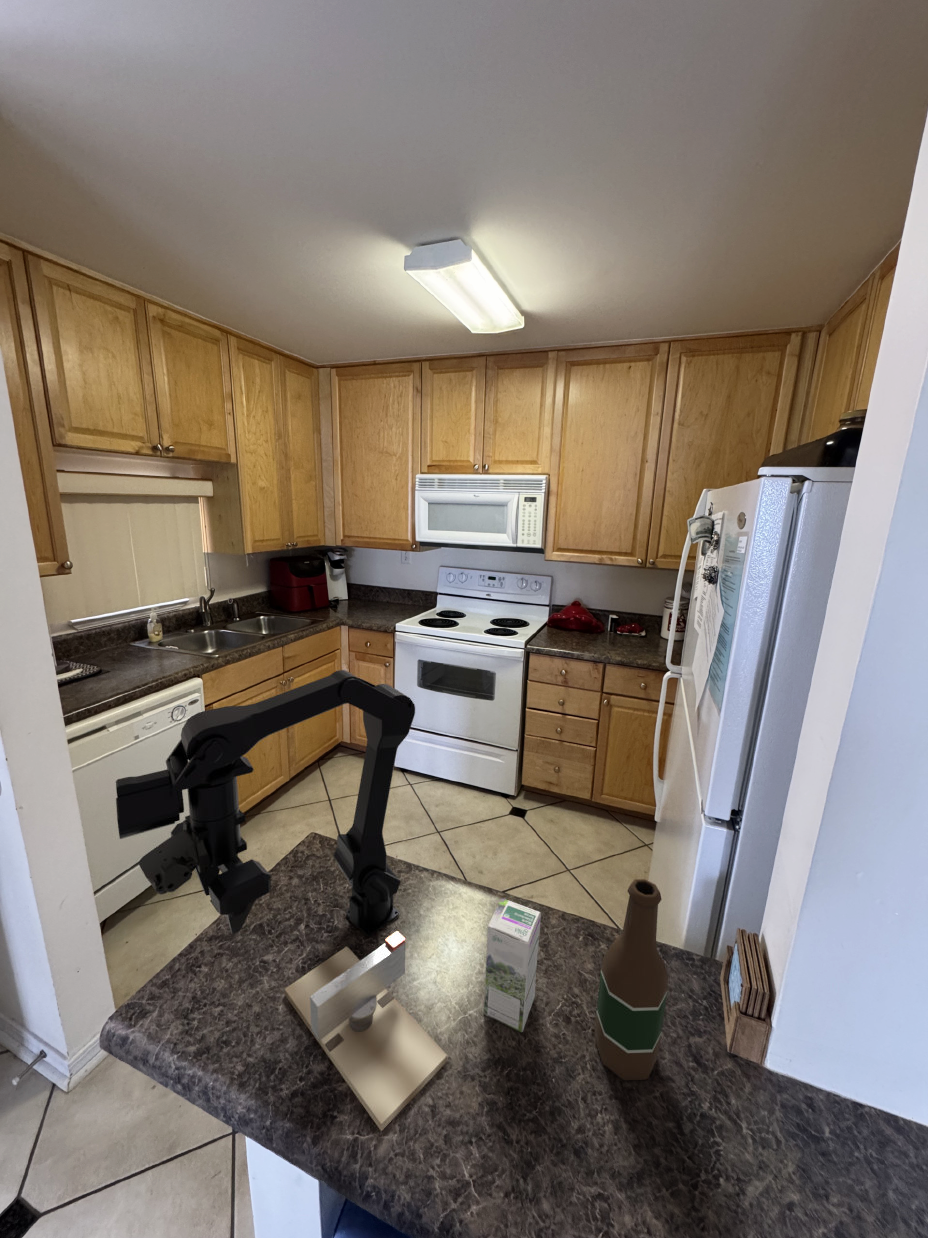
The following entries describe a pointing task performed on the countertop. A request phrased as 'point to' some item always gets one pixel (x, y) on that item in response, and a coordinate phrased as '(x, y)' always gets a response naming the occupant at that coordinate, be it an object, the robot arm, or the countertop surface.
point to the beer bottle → (633, 990)
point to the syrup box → (511, 963)
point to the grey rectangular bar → (358, 988)
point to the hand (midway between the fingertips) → (222, 912)
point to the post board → (372, 1045)
